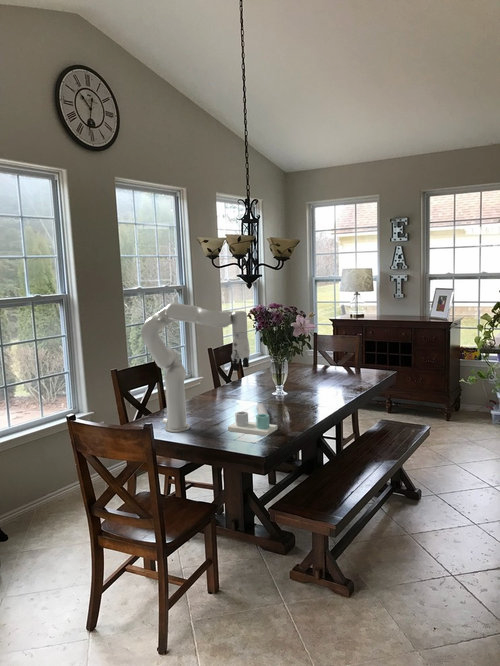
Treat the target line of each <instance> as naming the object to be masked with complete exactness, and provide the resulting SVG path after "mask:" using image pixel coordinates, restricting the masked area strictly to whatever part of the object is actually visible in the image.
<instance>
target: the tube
mask: <svg viewBox="0 0 500 666" xmlns="http://www.w3.org/2000/svg"><path fill="white" fill-rule="evenodd" d="M256 411H257V413H258V414H268V415H269V413H268V411H267V408H266V406H265V404H264V403H262V402H261V403H258V404H257V405H256ZM258 414H257V415H258ZM270 419H271V418H270V417H269V422H270Z"/></svg>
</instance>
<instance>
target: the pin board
mask: <svg viewBox="0 0 500 666" xmlns="http://www.w3.org/2000/svg"><path fill="white" fill-rule="evenodd" d="M269 425H270V427H269V428H268V429H258V428H257V425H256V421H248V425H247V426H242V427H240V426H236V422H234V423H232V424H230V425H228V426H227V432H233V433H234V432H235V433H242V434H251V435H256V436H264V437H267V436H269V435H270V434H272V433H274V432H275V431H277V430H278V425H277V424H271V423H269Z"/></svg>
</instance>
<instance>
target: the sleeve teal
mask: <svg viewBox="0 0 500 666" xmlns="http://www.w3.org/2000/svg"><path fill="white" fill-rule="evenodd" d="M255 416H256V419H255V422H256V425H257V428H258V429H268V428H269V427H270V425H269V424H270V421H269V418H270V415H269V413H268V414H257V415H255Z"/></svg>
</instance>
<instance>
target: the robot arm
mask: <svg viewBox="0 0 500 666" xmlns="http://www.w3.org/2000/svg"><path fill="white" fill-rule="evenodd" d="M175 321H178V322H187V323H192V324H193V323H194V324H198V325H204V326H209V327H210V326H211V327H215V328H221V329H223V328H224V329H225V328H227V327H229V326H230V325H231V326H232V328H231V330H232V353H231V355H230V357H231V361H232V366H233V367H232V368H233V371H234V372H240V359H241V360H242V368H249V367H250V364H249V362H250V361H249V359H250V352H251V351H250V343H249V338H248V315H247V312H246V311H244V310H236V311H229V310H223V311H222V310H221V311H214V310H209V309H206V308H203V307H200V306H197V305H190V304H183V303H180V302H178V301H177V302H176V301H172V302H170V303H168V304H167V305H166V306H165V307H164V308H162V309H160V311H157V312H156V313H155V314H153V315H151V316H149V317H148V318H147V319H146V320H145V322H144V323H143V324H142V327H141V330H140V331H141V339H142V341H143V343H144V345H145V347H146V349H147V350H148V352H149V353H150V355H151V357H152V359H153V361H154V362H155V364H156V366H157V367H158V368H160V369H163V370H164V371H165V373H166V374H165V376H164V387H165V396H166V398H165V399H166V413H167V414H166V415H167V418H163V420H162V421H161V423H162V424H165V425H166V426H165V427H164V430H165V431H166V432H170V433H180V432H185V431H187V430H189V429H190V426H191V425H190V424H189V423H188V422H187V411H186V410H187V408H186V407H187V406H186V391H185V390H186V389H185V379H186V377H187V371H186V369H185V367H184V365H183V364H182V362H181V360H180V358H179V357H178V355H177V354H176V352H175V351H174V350H173V349H172V348H170V347H167V346H166V344H165V343H164V340H163V339H162V337H160V334H159V333H160V332H161V331H162V330H163V329H164V328H166V327H168V326H169V325H171V324H172V323H174V322H175Z"/></svg>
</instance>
